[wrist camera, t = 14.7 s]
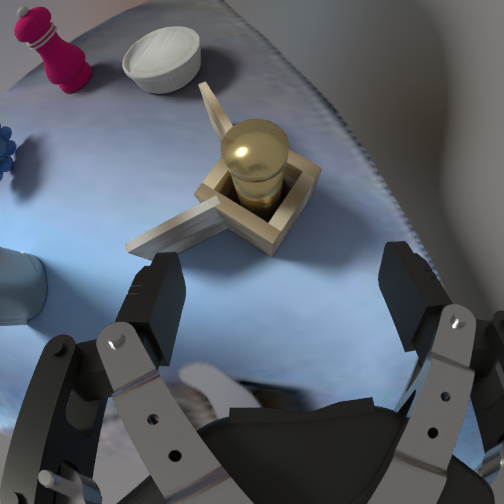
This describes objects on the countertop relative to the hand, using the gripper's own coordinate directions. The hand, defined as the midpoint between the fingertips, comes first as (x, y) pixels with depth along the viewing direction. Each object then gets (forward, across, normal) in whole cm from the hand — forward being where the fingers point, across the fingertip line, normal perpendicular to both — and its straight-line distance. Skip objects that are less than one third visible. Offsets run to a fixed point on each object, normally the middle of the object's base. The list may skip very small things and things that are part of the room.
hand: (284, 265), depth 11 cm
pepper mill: (+39, -31, +11) cm, 51 cm away
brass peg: (+20, -1, -8) cm, 22 cm away
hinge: (+20, -5, -8) cm, 22 cm away
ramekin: (+36, -13, +8) cm, 39 cm away
